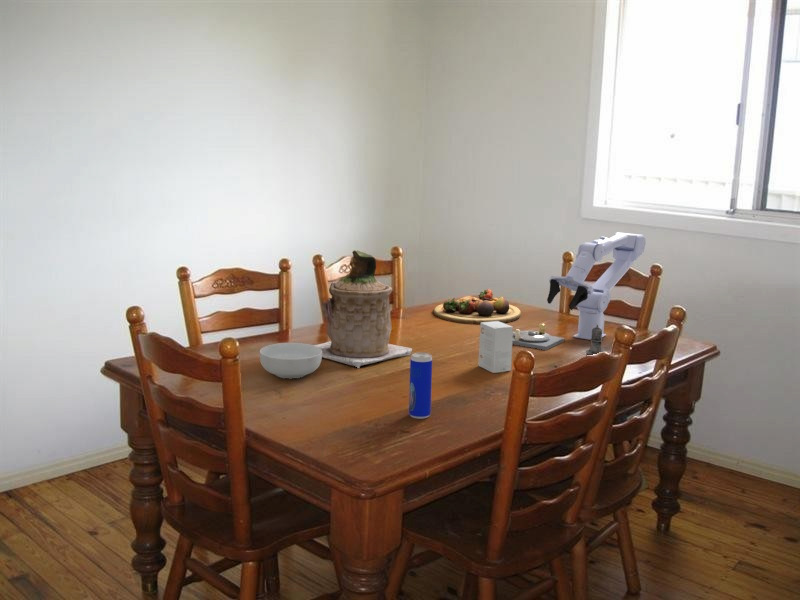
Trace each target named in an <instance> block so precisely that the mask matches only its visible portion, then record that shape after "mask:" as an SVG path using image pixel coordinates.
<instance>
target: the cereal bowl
mask: <svg viewBox="0 0 800 600" xmlns="http://www.w3.org/2000/svg"><path fill="white" fill-rule="evenodd" d="M313 345H314V344H310V343H301V342H278V343H273V344H269V345H264V346H263V347H261V348H260V349H259V361H260V364H261V365H262V366H261V367H262V368H263V369H264V370H266V371H267V372H268V373H270V374H272V375H275V376H276V377H278V378H280V379H285V378H289V379H288V380H291V379H292V378H297V379H301V378H303V377H305V376H307V375H309V374H312V373H314V372H315V371H316V370H317V369H318V368H319V367H320V365H321V364H322V363H321V362H322V358H323V357H322V350H321V349H320V348H318V347H316V346H313ZM300 377H301V378H300Z"/></svg>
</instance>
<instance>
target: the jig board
mask: <svg viewBox="0 0 800 600" xmlns="http://www.w3.org/2000/svg"><path fill="white" fill-rule="evenodd" d="M520 331H521V330H520V329H518V328H516V329H515V331H514V332H515V336H513V341H512V345H513V344H514V346H519V345H520V347H524V346H525V347H524V348H530V347H531V349H535V348H537V349H536V350H541V349H542V350H543V351H547V350H549V348H550V349H552V348H554V347H556V346H558V345H560V344H562V343H564V342H565V337H562V336H561V337H559V336H554V335H550V339H549V340H548V341H544V342H529V341H523V340H519V339H520Z"/></svg>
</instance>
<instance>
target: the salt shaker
mask: <svg viewBox="0 0 800 600" xmlns="http://www.w3.org/2000/svg"><path fill="white" fill-rule="evenodd" d="M602 338H603V337H602V330H601V329H600V328H599V327H598V325H597V327H595V328H593V329H592V338H591V339H590V340H589V341H590V347H589V348H588V350H585V351H584V352H585V357H587V355H593V354H597V353H599V352H604V351H603V350H602V342H603V339H602Z"/></svg>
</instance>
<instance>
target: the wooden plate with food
mask: <svg viewBox="0 0 800 600" xmlns="http://www.w3.org/2000/svg"><path fill="white" fill-rule="evenodd" d="M493 295H494V294H493V292H492V290H491V289H489V288H488V289H487V288H486V289H484V291H480V292H479V294H478V295H477V296H478V297H475V296H471V295H466V296H463V297H461V298H459V299H457V300H456V298H455V297H453V298H452V299H447V300H445V301H444V302H443V303H441V304H438V305H436V307H434V309H433V313H434V315H435V316H436V317H437V316H438V317H437V318H439V317H440V318H439V319H441V318H442V319H441V320H444V319H445V321H448V320H450V321H449V322H453V321H455V322H454V323H458V322H463V323H462V324H466V323H473V324H472V325H480V323H481V322H493V321H499V322H502V323H504V324H507V323H506V322H508V323H512V322H514V320H515V321H517V320H519V319H520V317H521V316H522V311H521V310H520V308H518V307H517V306H514V305H512V304H510V303H509V302H508V300H507V299H506V298H505V297H503V296H500V297H499V298H498V297H493ZM511 321H512V322H511Z"/></svg>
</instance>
